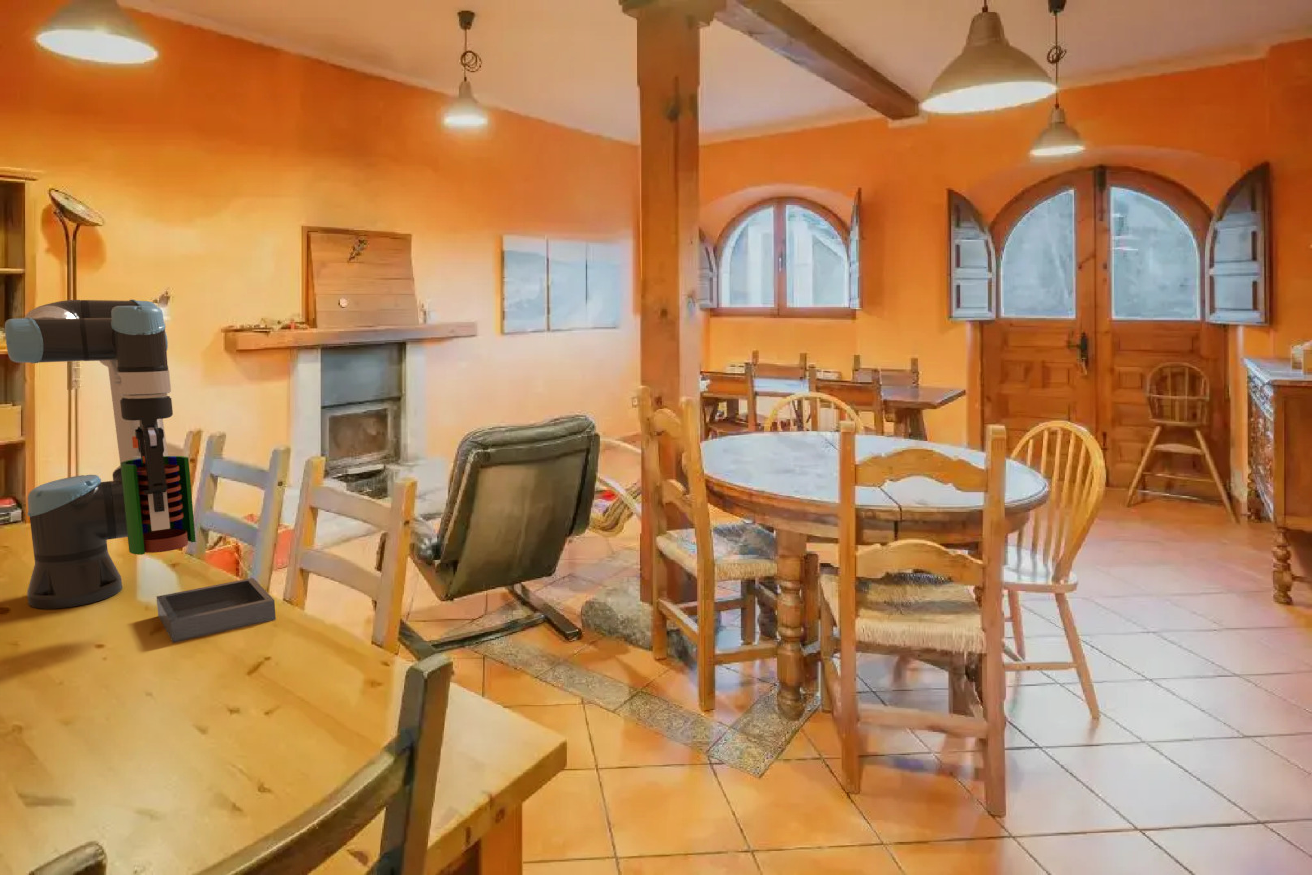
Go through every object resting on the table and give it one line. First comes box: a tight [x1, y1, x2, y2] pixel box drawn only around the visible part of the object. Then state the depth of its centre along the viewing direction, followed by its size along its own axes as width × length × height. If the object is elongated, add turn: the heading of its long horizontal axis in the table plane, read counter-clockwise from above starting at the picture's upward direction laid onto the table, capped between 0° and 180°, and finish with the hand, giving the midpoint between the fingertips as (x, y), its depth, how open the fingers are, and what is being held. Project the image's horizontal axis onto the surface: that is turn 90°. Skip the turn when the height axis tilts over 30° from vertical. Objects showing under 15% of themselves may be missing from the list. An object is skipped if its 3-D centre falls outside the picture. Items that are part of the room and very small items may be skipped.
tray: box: [156, 577, 277, 644], centre depth 146 cm, size 15×16×4 cm
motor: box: [121, 436, 197, 556], centre depth 140 cm, size 10×9×20 cm
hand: (158, 524), depth 140 cm, fingers closed on motor, 7 cm apart
